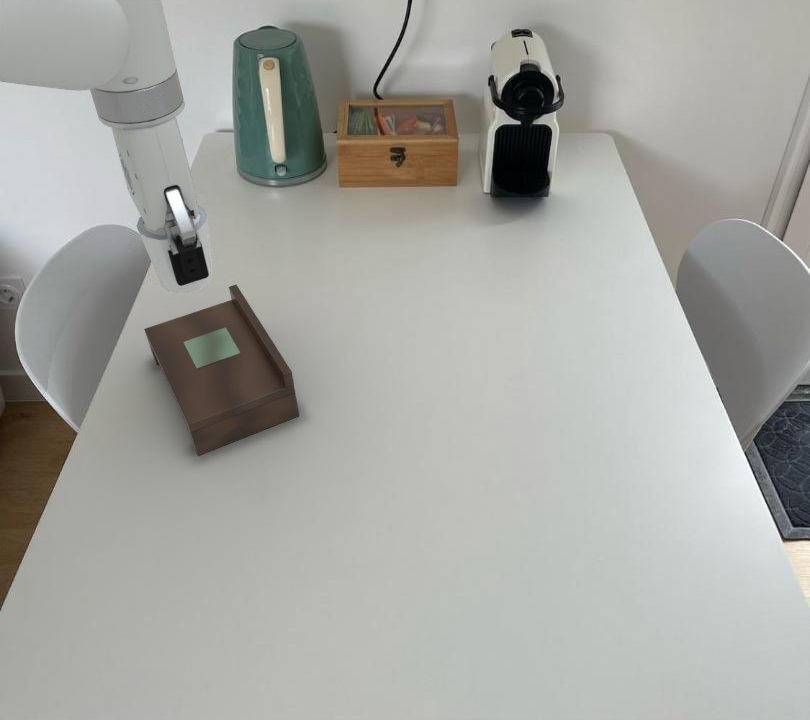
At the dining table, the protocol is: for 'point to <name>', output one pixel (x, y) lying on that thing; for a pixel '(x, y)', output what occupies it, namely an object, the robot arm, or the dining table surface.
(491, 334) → the dining table surface
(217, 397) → the shelf
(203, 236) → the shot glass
